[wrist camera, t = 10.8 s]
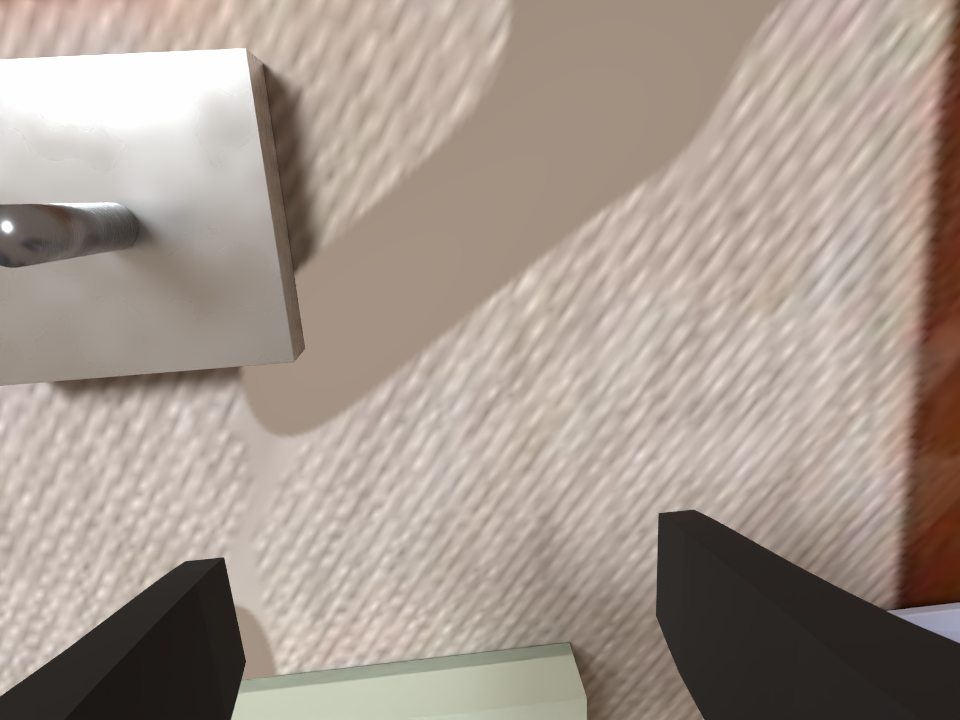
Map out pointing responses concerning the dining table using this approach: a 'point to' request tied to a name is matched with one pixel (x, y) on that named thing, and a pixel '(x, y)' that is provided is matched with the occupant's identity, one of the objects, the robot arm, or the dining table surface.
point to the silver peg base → (141, 218)
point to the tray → (427, 689)
